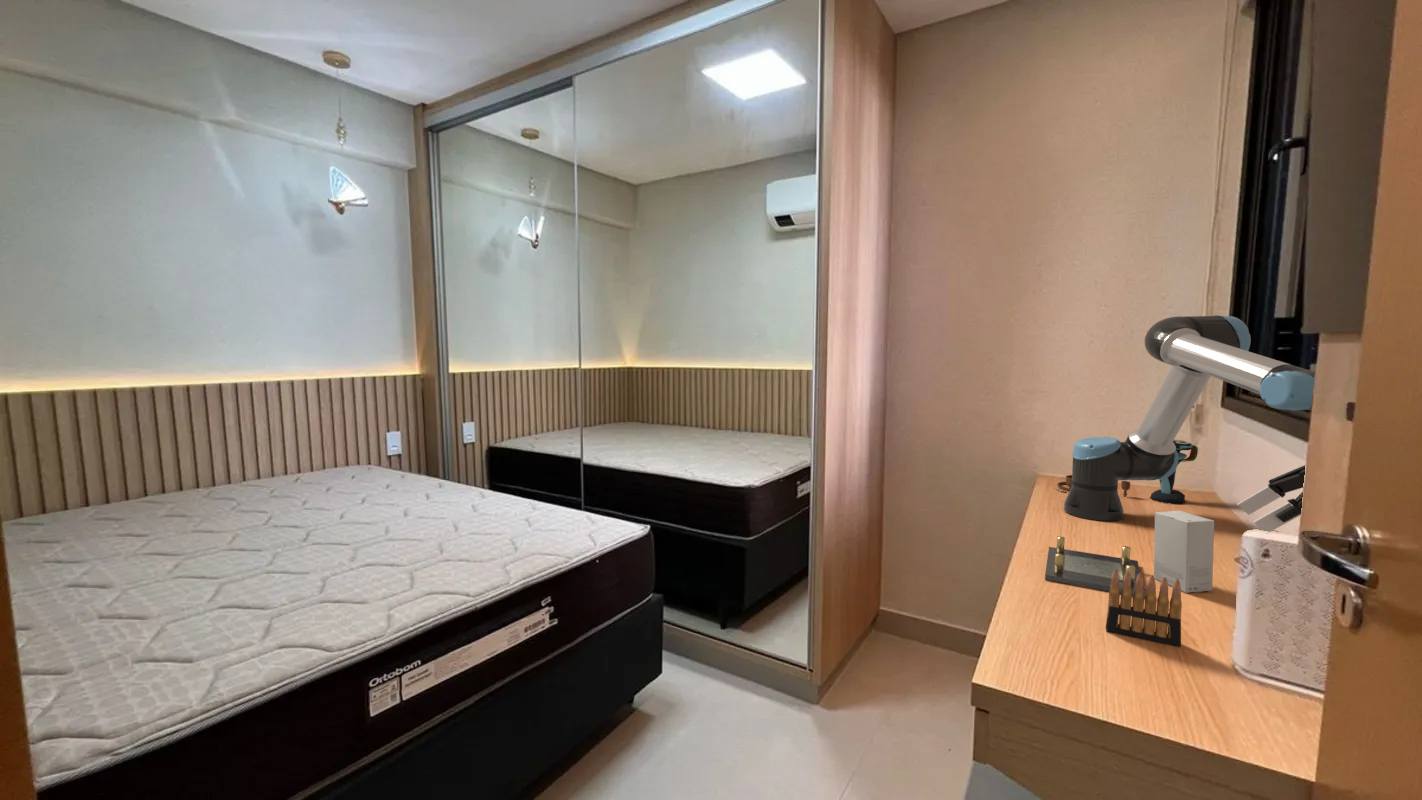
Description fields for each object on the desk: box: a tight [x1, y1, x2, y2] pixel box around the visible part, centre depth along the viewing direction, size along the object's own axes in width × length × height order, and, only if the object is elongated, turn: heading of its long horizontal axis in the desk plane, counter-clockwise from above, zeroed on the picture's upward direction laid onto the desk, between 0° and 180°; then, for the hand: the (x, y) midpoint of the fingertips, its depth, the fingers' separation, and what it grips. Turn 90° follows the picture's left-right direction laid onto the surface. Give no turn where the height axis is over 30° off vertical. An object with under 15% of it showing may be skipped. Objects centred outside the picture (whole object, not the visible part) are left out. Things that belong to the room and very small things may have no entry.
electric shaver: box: [1149, 439, 1199, 505], centre depth 182 cm, size 9×12×20 cm
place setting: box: [1055, 474, 1131, 497], centre depth 195 cm, size 18×20×6 cm
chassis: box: [1044, 535, 1147, 599], centre depth 128 cm, size 20×18×5 cm
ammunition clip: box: [1105, 569, 1183, 648], centre depth 100 cm, size 11×2×12 cm, turn 58°
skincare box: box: [1153, 510, 1215, 594], centre depth 121 cm, size 8×7×16 cm
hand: (1250, 518), depth 114 cm, fingers open, 13 cm apart
